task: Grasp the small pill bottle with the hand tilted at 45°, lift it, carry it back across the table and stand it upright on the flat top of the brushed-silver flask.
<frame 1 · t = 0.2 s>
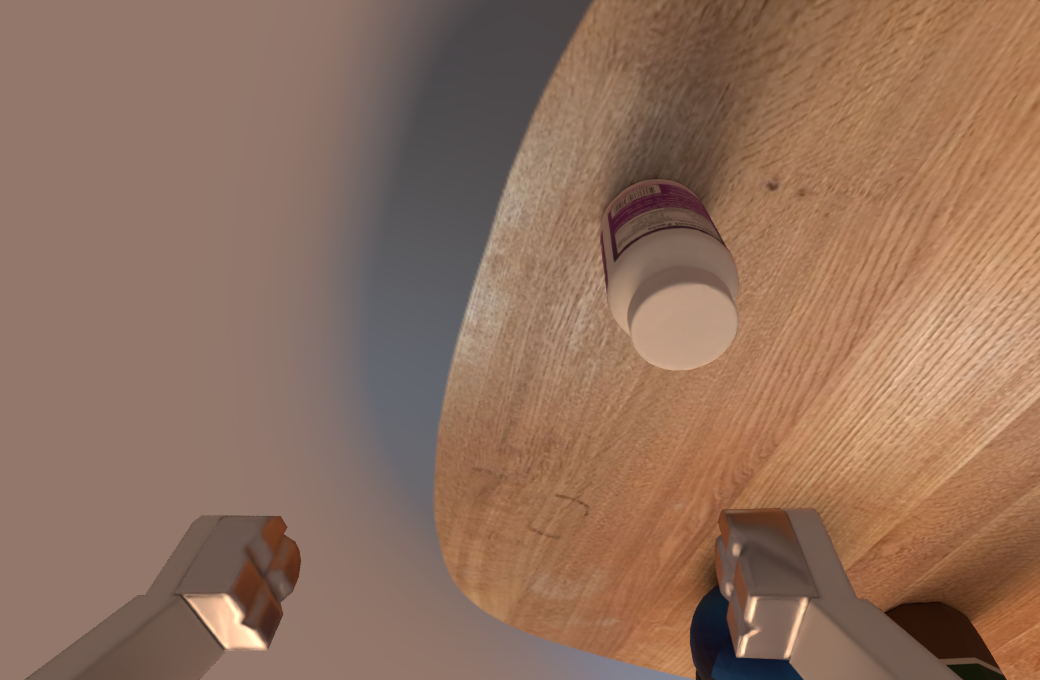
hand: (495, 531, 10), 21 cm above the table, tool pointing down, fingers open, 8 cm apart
bomb: (738, 588, 47), on the table
beer bottle: (914, 622, 48), on the table
pill bottle: (651, 224, 29), on the table
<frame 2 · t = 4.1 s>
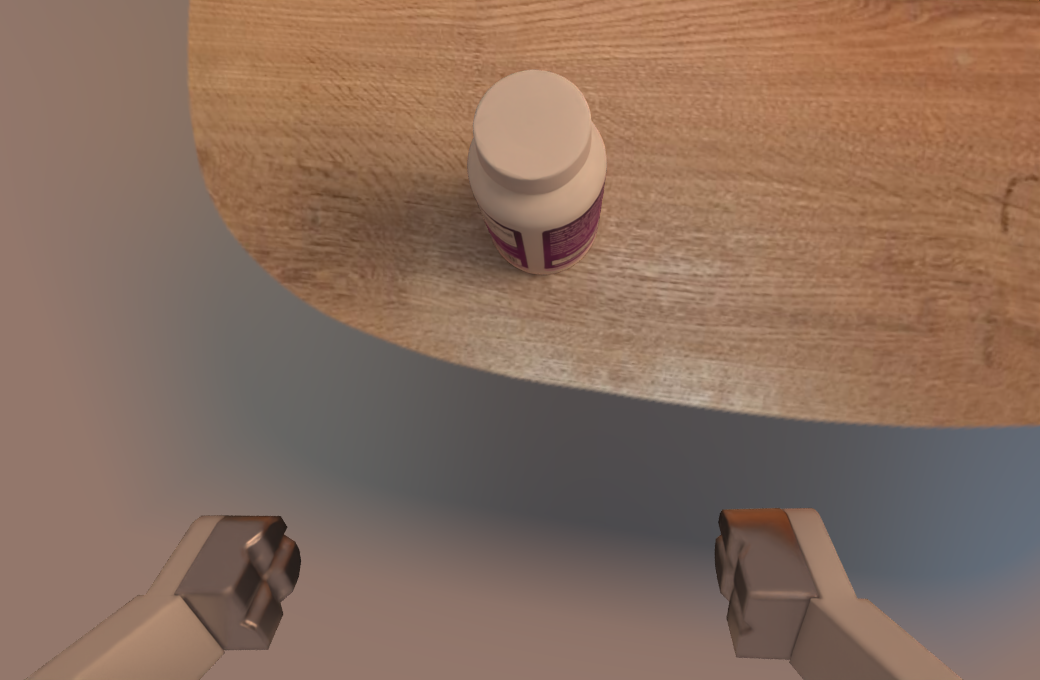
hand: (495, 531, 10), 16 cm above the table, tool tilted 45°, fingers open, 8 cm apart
pill bottle: (543, 226, 28), on the table
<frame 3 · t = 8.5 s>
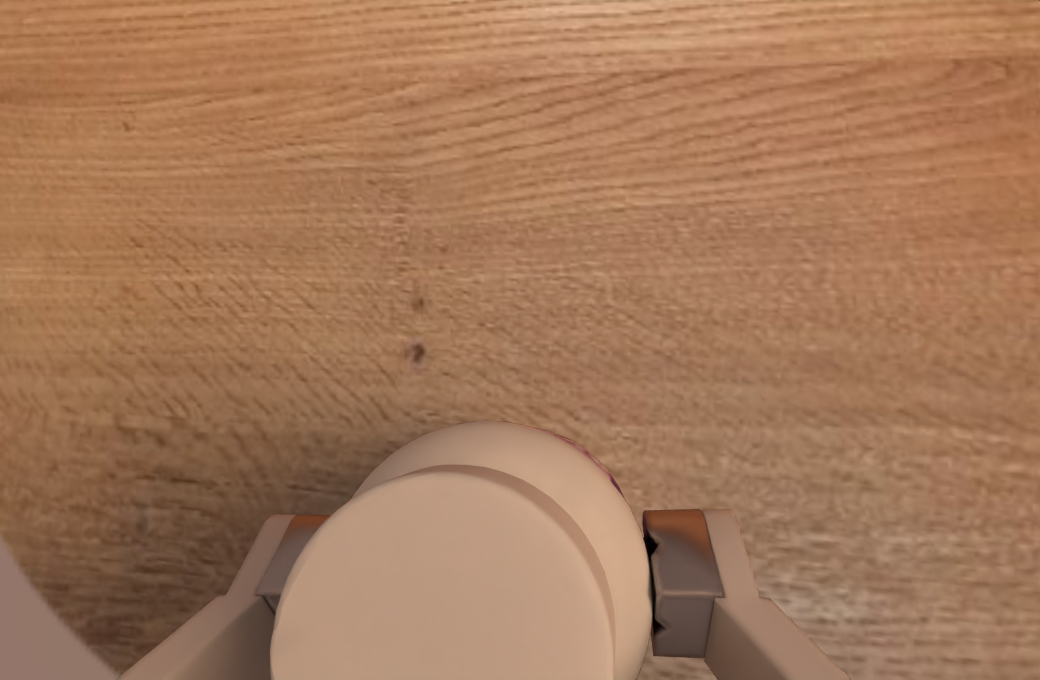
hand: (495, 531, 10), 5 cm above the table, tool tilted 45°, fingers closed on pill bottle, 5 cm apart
pill bottle: (530, 523, 16), on the table, touching gripper
when the fingers open (18 cm above the table, at t = 21.6 s): pill bottle stays where it is, resting on flask.
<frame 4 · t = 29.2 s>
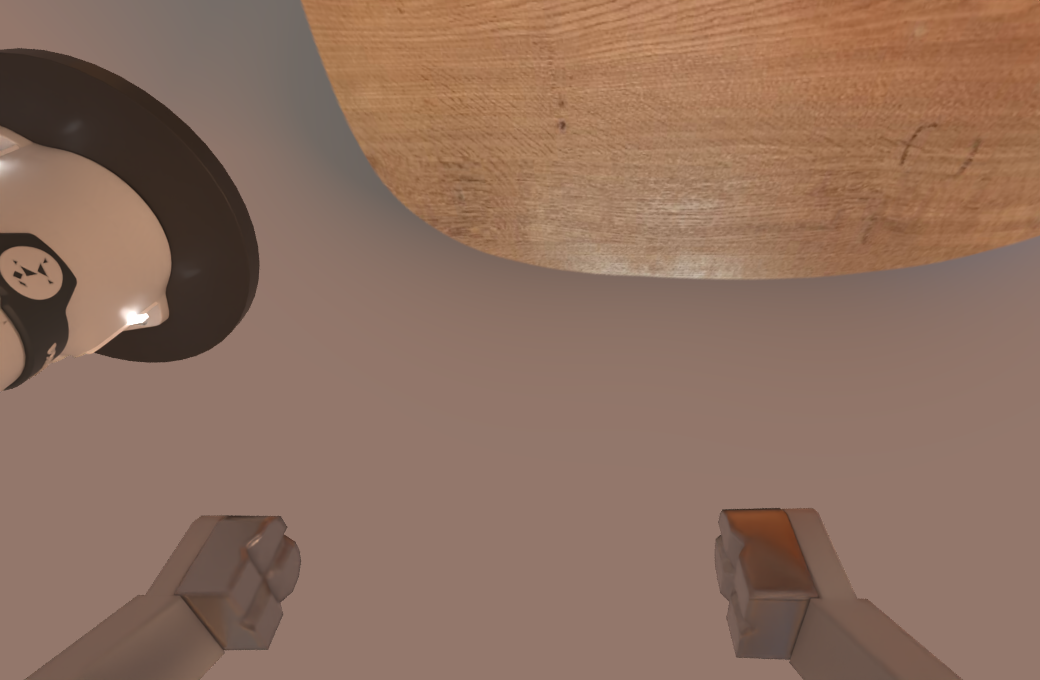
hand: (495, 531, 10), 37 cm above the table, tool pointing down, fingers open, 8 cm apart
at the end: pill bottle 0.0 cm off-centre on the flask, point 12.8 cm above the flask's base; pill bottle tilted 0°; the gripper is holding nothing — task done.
